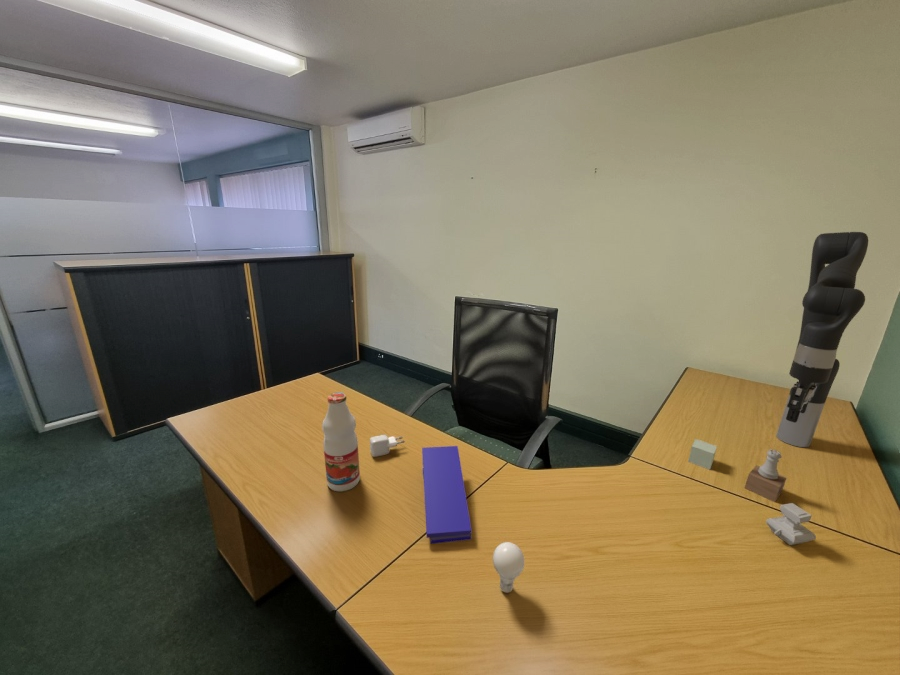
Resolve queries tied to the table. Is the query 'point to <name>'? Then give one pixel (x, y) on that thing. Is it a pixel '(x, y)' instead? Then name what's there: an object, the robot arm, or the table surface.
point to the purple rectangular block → (445, 495)
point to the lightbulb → (508, 564)
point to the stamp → (791, 525)
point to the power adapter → (382, 444)
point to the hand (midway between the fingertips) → (795, 416)
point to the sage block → (702, 454)
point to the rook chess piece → (770, 465)
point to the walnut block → (765, 485)
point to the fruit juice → (340, 445)
